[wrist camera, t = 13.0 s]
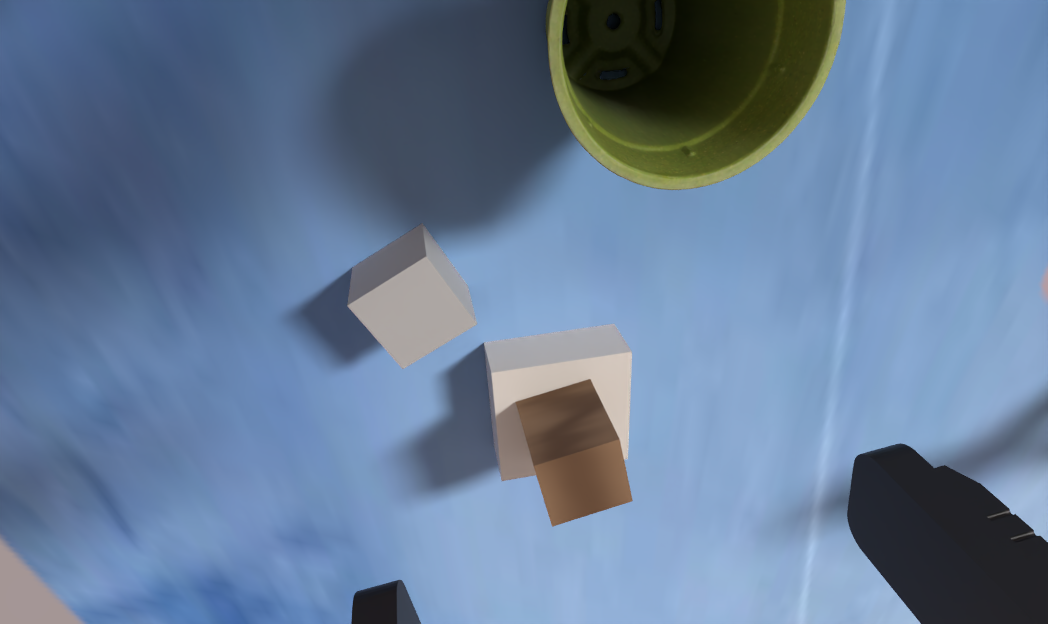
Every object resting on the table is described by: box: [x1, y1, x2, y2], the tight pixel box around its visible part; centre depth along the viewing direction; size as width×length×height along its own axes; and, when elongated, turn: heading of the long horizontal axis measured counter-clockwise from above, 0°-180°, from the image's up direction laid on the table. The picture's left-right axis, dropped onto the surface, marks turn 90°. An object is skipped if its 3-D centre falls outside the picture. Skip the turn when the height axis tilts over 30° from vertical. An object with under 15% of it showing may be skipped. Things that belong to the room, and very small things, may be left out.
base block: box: [484, 324, 632, 481], centre depth 43 cm, size 9×9×4 cm
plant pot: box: [546, 0, 846, 190], centre depth 28 cm, size 12×12×11 cm
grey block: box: [347, 223, 477, 369], centre depth 36 cm, size 5×5×5 cm
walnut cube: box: [516, 379, 632, 526], centre depth 38 cm, size 5×5×6 cm
